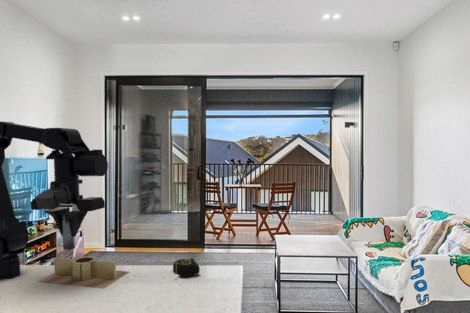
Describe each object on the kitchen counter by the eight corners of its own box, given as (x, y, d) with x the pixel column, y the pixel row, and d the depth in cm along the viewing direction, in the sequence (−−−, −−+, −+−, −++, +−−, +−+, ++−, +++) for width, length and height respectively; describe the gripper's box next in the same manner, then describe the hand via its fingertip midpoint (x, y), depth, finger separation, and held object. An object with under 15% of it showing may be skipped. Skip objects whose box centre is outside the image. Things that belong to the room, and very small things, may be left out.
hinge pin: (60, 249, 92) (59, 214, 92) (68, 246, 95) (67, 212, 94) (69, 250, 91) (68, 214, 91) (77, 247, 94) (76, 212, 94)
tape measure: (200, 277, 98) (200, 263, 97) (175, 280, 95) (174, 266, 95) (195, 269, 104) (195, 256, 104) (171, 272, 102) (171, 259, 102)
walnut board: (36, 285, 93) (36, 281, 93) (68, 270, 104) (68, 266, 104) (104, 292, 88) (103, 288, 88) (130, 275, 99) (130, 271, 99)
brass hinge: (46, 278, 95) (46, 261, 95) (63, 270, 101) (63, 254, 101) (108, 283, 91) (108, 266, 91) (121, 275, 97) (121, 258, 97)
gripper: (11, 179, 87) (13, 242, 88) (74, 179, 82) (77, 246, 83) (46, 175, 98) (48, 232, 98) (105, 175, 93) (107, 235, 93)
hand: (68, 236), depth 93 cm, fingers closed on hinge pin, 3 cm apart
